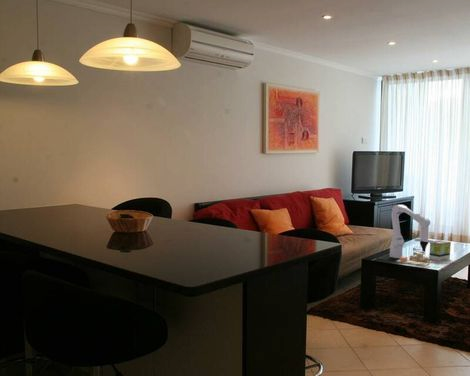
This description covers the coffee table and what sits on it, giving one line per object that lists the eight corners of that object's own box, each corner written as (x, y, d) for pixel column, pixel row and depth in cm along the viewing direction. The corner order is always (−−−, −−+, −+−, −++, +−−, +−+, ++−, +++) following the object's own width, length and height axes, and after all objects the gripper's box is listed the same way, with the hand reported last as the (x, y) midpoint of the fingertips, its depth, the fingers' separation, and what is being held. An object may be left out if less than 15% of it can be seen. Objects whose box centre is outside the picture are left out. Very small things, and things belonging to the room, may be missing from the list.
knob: (400, 260, 375) (400, 257, 375) (402, 259, 378) (402, 256, 378) (405, 261, 372) (405, 257, 372) (407, 260, 376) (407, 256, 376)
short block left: (409, 260, 381) (409, 255, 381) (411, 259, 384) (411, 255, 384) (414, 261, 379) (414, 256, 379) (416, 260, 382) (416, 255, 381)
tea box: (440, 261, 379) (440, 243, 378) (428, 259, 387) (429, 241, 386) (450, 259, 388) (451, 241, 387) (438, 256, 396) (439, 239, 395)
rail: (397, 261, 376) (397, 260, 376) (401, 260, 382) (401, 259, 382) (425, 266, 361) (425, 265, 361) (428, 264, 367) (428, 263, 367)
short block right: (423, 262, 374) (423, 257, 374) (424, 261, 377) (425, 257, 377) (428, 263, 371) (428, 258, 371) (430, 262, 374) (430, 257, 374)
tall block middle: (416, 261, 378) (416, 253, 377) (418, 260, 381) (418, 252, 380) (421, 262, 375) (421, 254, 375) (423, 261, 378) (423, 253, 378)
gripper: (413, 233, 374) (412, 250, 375) (432, 235, 365) (431, 253, 366) (416, 232, 380) (416, 249, 381) (435, 234, 370) (434, 251, 371)
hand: (423, 251), depth 374 cm, fingers closed
